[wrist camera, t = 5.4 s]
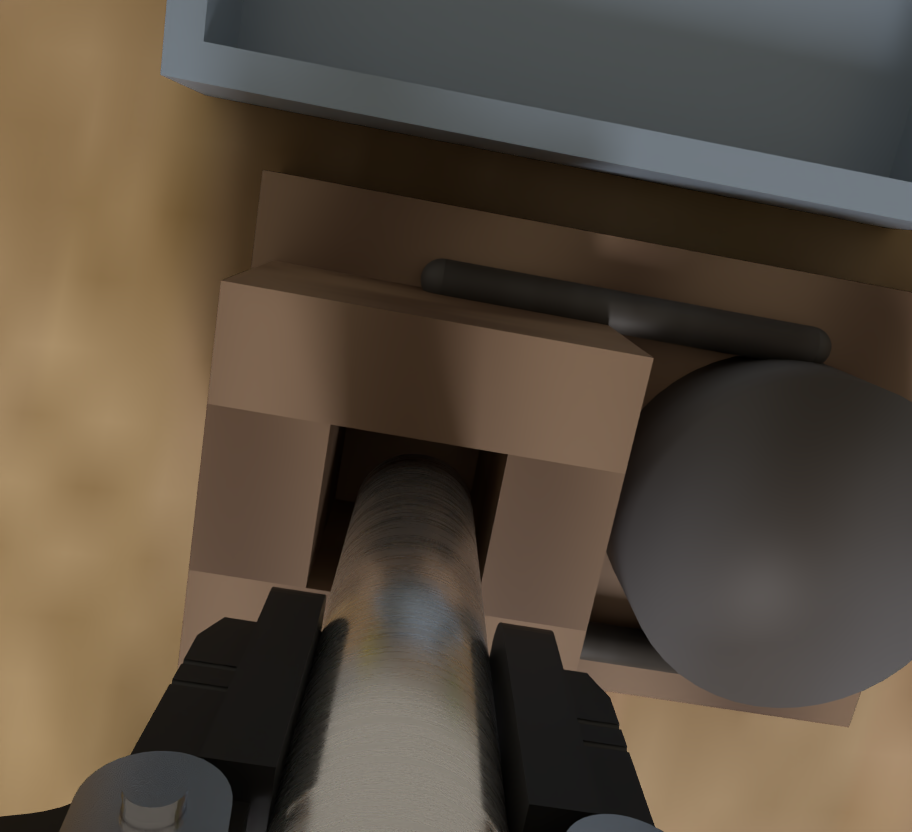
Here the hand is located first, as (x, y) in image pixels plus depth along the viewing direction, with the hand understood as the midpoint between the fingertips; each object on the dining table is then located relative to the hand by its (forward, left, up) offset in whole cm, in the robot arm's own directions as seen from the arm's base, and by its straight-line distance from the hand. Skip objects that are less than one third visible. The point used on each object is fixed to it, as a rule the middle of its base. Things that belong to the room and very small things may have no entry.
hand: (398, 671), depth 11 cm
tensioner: (-4, 0, -12) cm, 13 cm away
